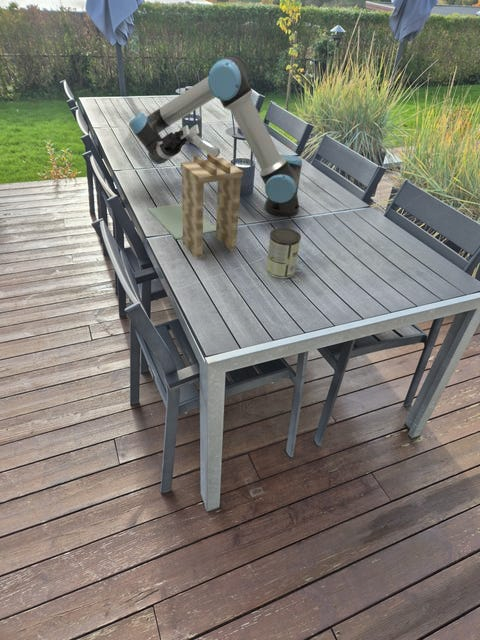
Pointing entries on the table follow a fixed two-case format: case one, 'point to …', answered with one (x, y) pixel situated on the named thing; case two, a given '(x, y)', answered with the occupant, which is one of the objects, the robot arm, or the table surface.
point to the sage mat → (176, 220)
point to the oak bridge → (226, 201)
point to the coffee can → (282, 252)
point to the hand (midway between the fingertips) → (192, 129)
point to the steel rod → (203, 144)
